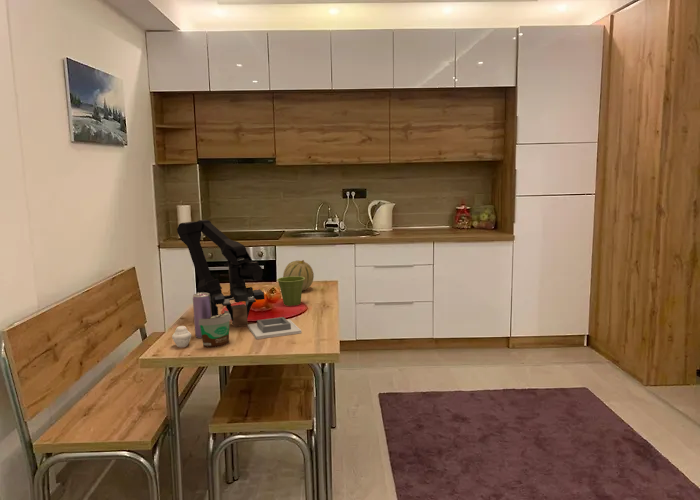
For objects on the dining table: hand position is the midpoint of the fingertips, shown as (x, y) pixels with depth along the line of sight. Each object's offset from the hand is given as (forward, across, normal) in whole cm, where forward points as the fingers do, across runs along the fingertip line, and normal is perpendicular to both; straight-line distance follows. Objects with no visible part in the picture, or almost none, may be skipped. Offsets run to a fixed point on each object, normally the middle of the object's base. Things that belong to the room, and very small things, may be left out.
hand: (239, 319), depth 199 cm
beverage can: (+2, -14, -9) cm, 17 cm away
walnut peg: (+2, 0, 0) cm, 2 cm away
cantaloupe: (+2, +36, +45) cm, 58 cm away
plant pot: (+2, +26, +21) cm, 34 cm away
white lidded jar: (+2, -22, -17) cm, 28 cm away
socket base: (+2, +10, -13) cm, 17 cm away
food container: (+2, -10, -21) cm, 23 cm away
